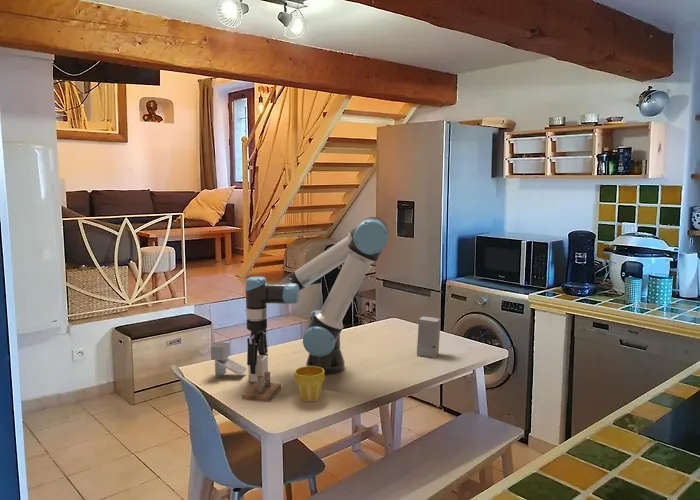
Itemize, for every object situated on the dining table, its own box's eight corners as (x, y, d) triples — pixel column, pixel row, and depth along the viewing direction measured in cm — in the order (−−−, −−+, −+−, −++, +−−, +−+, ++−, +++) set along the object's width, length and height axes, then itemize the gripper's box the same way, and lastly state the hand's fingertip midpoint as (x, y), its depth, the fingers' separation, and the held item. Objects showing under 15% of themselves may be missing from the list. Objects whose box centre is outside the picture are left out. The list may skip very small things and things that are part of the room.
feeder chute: (246, 374, 214) (246, 343, 212) (240, 379, 208) (239, 348, 207) (218, 371, 216) (217, 342, 215) (211, 377, 211) (210, 346, 209)
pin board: (281, 387, 200) (280, 370, 200) (269, 401, 189) (269, 382, 188) (254, 385, 202) (254, 368, 202) (242, 398, 191) (241, 380, 190)
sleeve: (268, 375, 212) (267, 355, 211) (262, 381, 207) (262, 360, 206) (254, 374, 213) (253, 354, 212) (248, 380, 208) (248, 359, 207)
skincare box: (416, 355, 235) (417, 319, 233) (420, 350, 241) (421, 315, 239) (436, 358, 232) (437, 321, 230) (440, 353, 238) (440, 317, 236)
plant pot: (294, 392, 196) (294, 365, 195) (324, 391, 197) (324, 364, 196) (294, 404, 186) (294, 376, 185) (325, 403, 187) (325, 375, 186)
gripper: (257, 311, 217) (258, 367, 221) (236, 325, 198) (238, 386, 201) (275, 312, 216) (276, 368, 219) (256, 326, 196) (257, 388, 199)
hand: (258, 377), depth 210 cm, fingers open, 8 cm apart
